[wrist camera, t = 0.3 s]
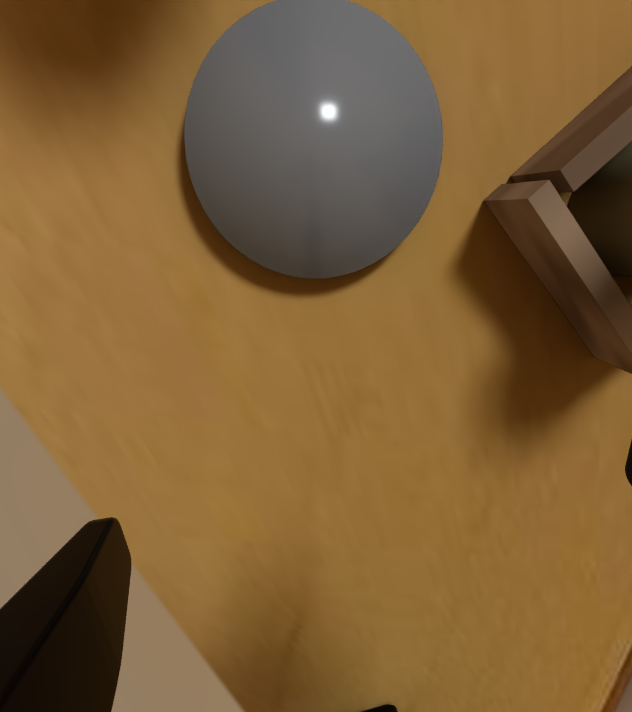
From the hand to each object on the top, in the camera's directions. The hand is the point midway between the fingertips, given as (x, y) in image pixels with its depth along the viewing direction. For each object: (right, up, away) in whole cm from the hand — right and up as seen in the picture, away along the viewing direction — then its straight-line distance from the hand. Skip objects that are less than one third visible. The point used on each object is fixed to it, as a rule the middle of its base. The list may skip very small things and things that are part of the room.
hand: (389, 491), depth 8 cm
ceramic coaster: (-1, +11, +11) cm, 15 cm away
